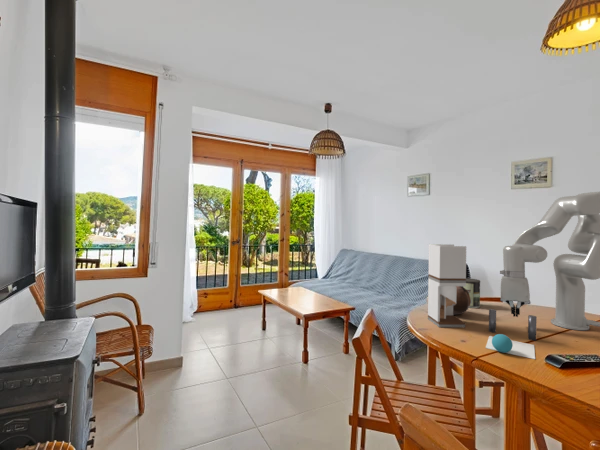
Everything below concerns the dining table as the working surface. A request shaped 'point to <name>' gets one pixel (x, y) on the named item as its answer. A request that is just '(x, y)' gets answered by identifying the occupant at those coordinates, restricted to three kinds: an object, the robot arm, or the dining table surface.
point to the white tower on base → (445, 282)
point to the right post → (532, 327)
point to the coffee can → (473, 291)
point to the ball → (502, 343)
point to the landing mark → (516, 348)
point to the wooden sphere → (461, 301)
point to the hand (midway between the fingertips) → (515, 315)
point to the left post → (492, 320)
